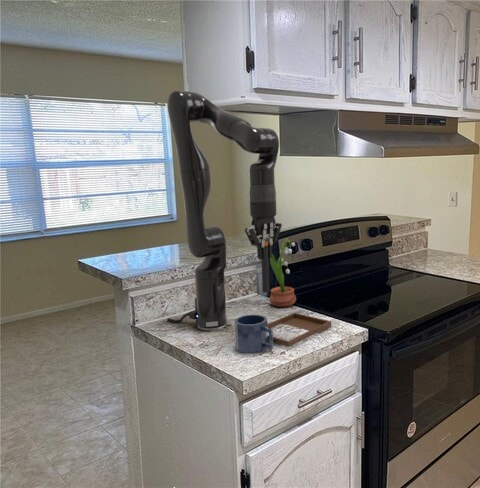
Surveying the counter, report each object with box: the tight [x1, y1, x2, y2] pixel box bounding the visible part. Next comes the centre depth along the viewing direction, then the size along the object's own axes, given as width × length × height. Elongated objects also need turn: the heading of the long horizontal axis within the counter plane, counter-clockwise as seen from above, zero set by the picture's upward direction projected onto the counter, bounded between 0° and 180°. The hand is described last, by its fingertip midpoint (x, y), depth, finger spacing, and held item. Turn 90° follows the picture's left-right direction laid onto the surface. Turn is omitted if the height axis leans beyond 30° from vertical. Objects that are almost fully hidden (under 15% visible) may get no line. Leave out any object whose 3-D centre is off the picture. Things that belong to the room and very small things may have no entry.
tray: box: [267, 312, 332, 348], centre depth 157 cm, size 16×22×2 cm
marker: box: [261, 241, 270, 293], centre depth 144 cm, size 2×2×15 cm
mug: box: [234, 313, 274, 355], centre depth 142 cm, size 13×9×9 cm
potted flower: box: [268, 238, 297, 308], centre depth 183 cm, size 12×10×25 cm
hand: (264, 258), depth 144 cm, fingers closed on marker, 2 cm apart
